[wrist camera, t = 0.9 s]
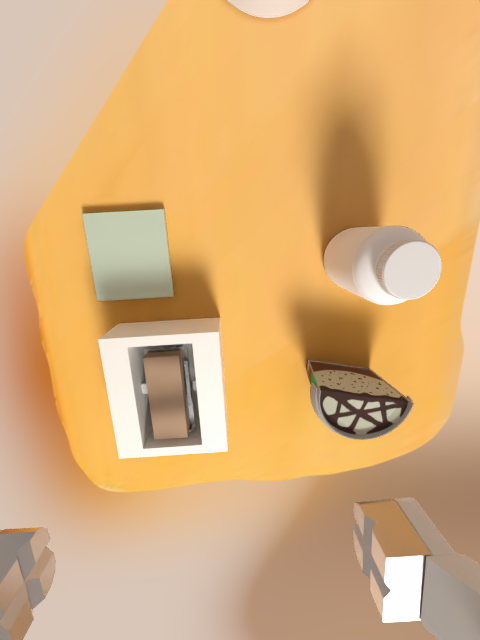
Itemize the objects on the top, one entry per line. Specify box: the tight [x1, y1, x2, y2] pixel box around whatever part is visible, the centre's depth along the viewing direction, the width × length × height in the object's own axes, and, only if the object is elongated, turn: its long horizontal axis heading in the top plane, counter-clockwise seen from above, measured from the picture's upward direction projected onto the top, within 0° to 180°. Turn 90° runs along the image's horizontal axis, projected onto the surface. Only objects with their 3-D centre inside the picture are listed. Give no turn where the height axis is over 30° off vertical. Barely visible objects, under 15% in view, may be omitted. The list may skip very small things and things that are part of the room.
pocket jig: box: [98, 317, 228, 459], centre depth 42 cm, size 16×14×7 cm
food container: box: [307, 360, 414, 440], centre depth 42 cm, size 12×6×10 cm, turn 81°
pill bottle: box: [324, 226, 442, 305], centre depth 35 cm, size 8×8×15 cm
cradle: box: [144, 344, 196, 432], centre depth 42 cm, size 12×5×2 cm, turn 3°
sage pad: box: [82, 209, 174, 301], centre depth 41 cm, size 11×10×1 cm
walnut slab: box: [143, 349, 190, 439], centre depth 40 cm, size 11×4×3 cm, turn 3°
